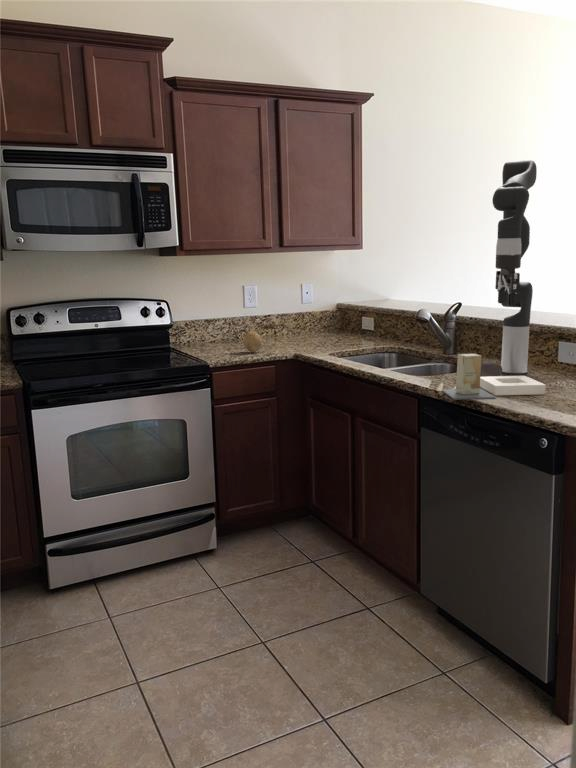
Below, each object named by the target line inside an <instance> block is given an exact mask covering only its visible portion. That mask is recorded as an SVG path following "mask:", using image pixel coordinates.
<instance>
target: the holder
mask: <svg viewBox="0 0 576 768" xmlns="http://www.w3.org/2000/svg"><path fill="white" fill-rule="evenodd" d="M546 386H547V385H546V384H544V383H542V382H540V381H538V380H536V379H534V378H531V377H528V376H526V375H501V376H488V377H480V389H483V390H484V391H486V392H488V393H490V394H491V395H493V396H519V395H520V396H521V395H527V396H528V395H530V396H531V395H546Z"/></svg>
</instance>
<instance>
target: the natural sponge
mask: <svg viewBox="0 0 576 768" xmlns="http://www.w3.org/2000/svg"><path fill="white" fill-rule="evenodd" d="M242 345H243V346H244V348H245V349H246V350H247V351H248V352H250V353H252V354H253V353H257V352H258V351H259V350H261V349H262V348H263V346H264V342H263V339H262V337H261V336H260V334H259V333H258V332H256V331H253V330H250V331H248V332H247V333H245V335H244V336H243V338H242Z"/></svg>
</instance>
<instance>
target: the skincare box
mask: <svg viewBox="0 0 576 768" xmlns="http://www.w3.org/2000/svg"><path fill="white" fill-rule="evenodd" d="M482 357H483V356H482V355H481V354H477V353H461V354H457V362H456V363H457V365H456V366H457V367H456V381H455V389H456V392H457V393H460V394H463V395H465V394H477V393H479V390H480V389H481V387H480V374H481V362H482Z"/></svg>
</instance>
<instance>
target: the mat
mask: <svg viewBox="0 0 576 768" xmlns="http://www.w3.org/2000/svg"><path fill="white" fill-rule="evenodd" d="M441 392H442V393H444V394H445V395H447V396H448V397H449V398H451V399H452V400H455V401H456V400H459V401H460V400H490V399H492V400H493V399H494V400H495V399H496V395H493V394H492V393H490V392H488V391H486V390H485V389H483V388H480V390H479V393H477V394H465V395H463V394H460V393H457V392H456V388H454V389H453V388H450V389H449V388H447V389H444V388H443V389H441Z"/></svg>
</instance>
